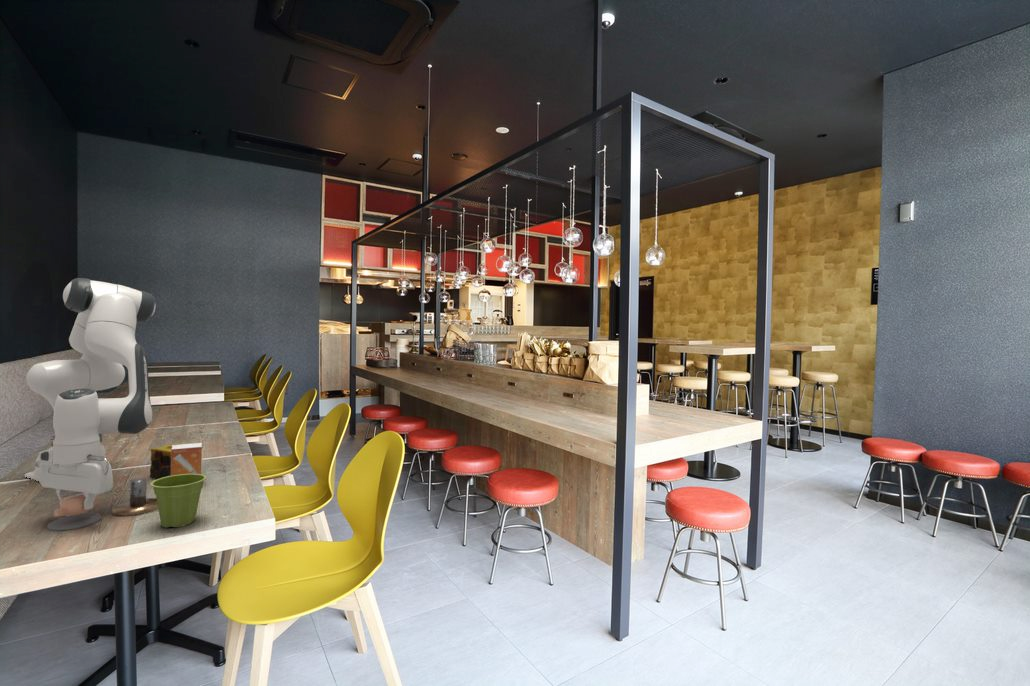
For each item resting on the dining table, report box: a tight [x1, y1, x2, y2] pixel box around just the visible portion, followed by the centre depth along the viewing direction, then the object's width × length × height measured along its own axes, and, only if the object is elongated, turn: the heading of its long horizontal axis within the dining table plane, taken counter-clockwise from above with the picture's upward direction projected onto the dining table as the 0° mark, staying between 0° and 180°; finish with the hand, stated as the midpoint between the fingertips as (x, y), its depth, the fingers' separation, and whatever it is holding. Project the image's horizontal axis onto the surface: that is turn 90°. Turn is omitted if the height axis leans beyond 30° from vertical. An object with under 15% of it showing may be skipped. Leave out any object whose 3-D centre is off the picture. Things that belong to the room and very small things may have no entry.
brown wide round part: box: [111, 477, 158, 517], centre depth 132 cm, size 11×11×8 cm
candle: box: [149, 442, 184, 480], centre depth 161 cm, size 10×10×10 cm
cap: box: [53, 492, 99, 517], centre depth 121 cm, size 9×6×4 cm, turn 166°
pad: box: [47, 512, 102, 532], centre depth 121 cm, size 10×10×1 cm
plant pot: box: [150, 473, 207, 528], centre depth 123 cm, size 12×12×11 cm
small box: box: [171, 442, 203, 476], centre depth 151 cm, size 8×6×13 cm
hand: (76, 507), depth 121 cm, fingers closed on cap, 6 cm apart
